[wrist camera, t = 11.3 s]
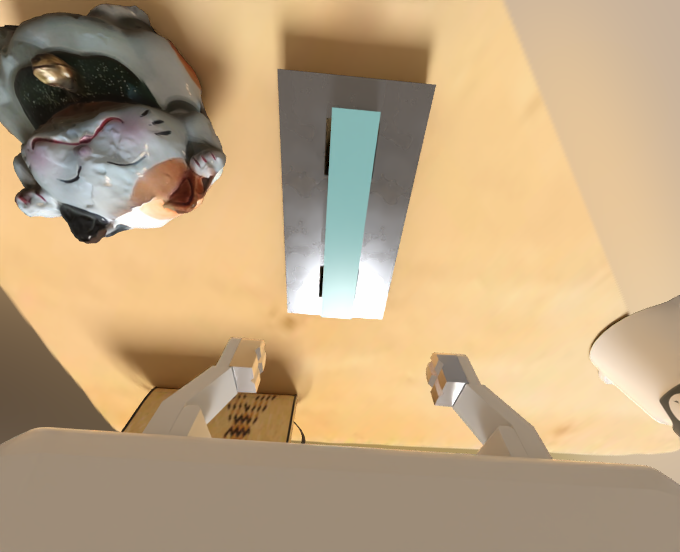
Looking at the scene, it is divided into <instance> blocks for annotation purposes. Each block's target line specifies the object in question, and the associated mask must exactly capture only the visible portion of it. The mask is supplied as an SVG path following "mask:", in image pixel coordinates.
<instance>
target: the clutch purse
mask: <svg viewBox="0 0 680 552" xmlns="http://www.w3.org/2000/svg"><path fill="white" fill-rule="evenodd" d="M178 390H179V389H164V388H157V387H155V388H153V389H152V390H151V391H150V392H149V393H148V394H147V396H146V397H145V398H144V400H143V401H142V402H141V404H140V405H139V407H138V408H137V409H136V411H135V412H134V414H133V415H132V417H131V418H130V420H129V421H128V422H127V424H126V425H125V427H124V428H123V430H122V431H121V432H128V433H143V431H144V429H145V428H146V426H147V425H148V423H149V422H150V420H151V418H152V417H153V415H154V414H155V412H156V411H157V409H158V407H159V406H160V404H161V403H162V402H163V401H164V400H165V399H167V398H168V397H170V396H171V395H172V394H174V393H175V392H176V391H178ZM296 404H297V395H295V396H292V395H273V394H255V393H237V394H236V395H235V396H234V397H233V398H232V400H231V401H230V402H229V403H228V404H227V405H226V406H225V407H224V408H223V409H222V410H221V411H220V412H219V413H218V414H217V415H216V416H215V417H214V418H213V419H212V420H211V421H210V422H209V423H208V424H207V427H208V430H209V432H210V435H211V437H212V438H222V439H238V440H254V441H270V442H286V443H291V436H292V430H293V424H294V423H295V422H294V418H295V411H296ZM295 424H296V423H295ZM296 426H297V424H296ZM297 427H298V426H297ZM298 428H299V427H298ZM299 430H300V432H301V434H302V442H301V443H302V444H305V437H304V434H303V432H302V430H301V429H300V428H299Z"/></svg>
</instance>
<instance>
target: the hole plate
mask: <svg viewBox="0 0 680 552" xmlns="http://www.w3.org/2000/svg"><path fill="white" fill-rule="evenodd" d="M435 87H436V85H432V84H422V83H412V82H402V81H392V80H382V79H372V78H363V77H353V76H343V75H333V74H323V73H313V72H303V71H293V70H283V69H278V91H279V115H280V139H281V163H282V188H283V212H284V236H285V260H286V284H287V309H288V313H302V314H316V315H321V308H322V289H323V283H321V266H324V251H325V233H326V214H327V195H328V176H329V169H326V158H327V137H328V118H332V107H333V108H344V109H354V110H364V111H375V112H381V114H380V121H379V128H378V135H377V142H376V149H375V157H374V164H373V171H372V178H371V185H370V192H369V199H368V206H367V213H366V220H365V227H364V234H363V242H362V249H361V256H360V263H359V270H358V277H357V284H356V291H355V298H354V305H353V312H352V317H358V318H372V319H382V318H383V314H384V309H385V305H386V300H387V296H388V292H389V287H390V283H391V279H392V274H393V270H394V266H395V261H396V257H397V252H398V248H399V244H400V239H401V235H402V231H403V226H404V222H405V218H406V213H407V209H408V204H409V200H410V196H411V191H412V187H413V183H414V178H415V174H416V170H417V165H418V161H419V156H420V152H421V148H422V143H423V139H424V135H425V130H426V126H427V122H428V117H429V113H430V109H431V104H432V100H433V95H434V91H435Z"/></svg>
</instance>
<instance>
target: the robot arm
mask: <svg viewBox="0 0 680 552" xmlns="http://www.w3.org/2000/svg"><path fill="white" fill-rule="evenodd" d="M264 347H265V342H264V340H257V339H247V338H236V337H232V338H231V339H230V340H229V341H228V343H227V345H226V347H225V349H224V351H223V353H222V355H221V357H220V359H219V361H218V363H217V365H216V366H211V367H210V368H209V369H207V370H206V371H204V372H203V373H202V374H200V375H199V376H197V377H196V378H195V379H193V380H192V381H190V382H189V383H188V384H186V385H185V386H183V387H182V388H181V389H179V390H178V391H176V392H175V393H174V394H172V395H171V396H170V397H168V398H167V399H165V400H164V401H163V402H162V403H161V404H160V406H159V407H158V409H157V411H156V412H155V414H154V415H153V417H152V418H151V420H150V422H149V423H148V425H147V426H146V428H145V429H144V431H143V433H128V432H112V431H97V430H80V429H66V428H52V427H40V428H35V429H32V430H29V431H27V432H25V433H23V434H20V435H18V436H16V437H14V438H12V439H10V440H9V441H7V442H5V443H3V444H1V445H0V552H680V485H679V484H677V483H676V482H675V481H673V480H672V479H670V478H669V477H667V476H666V475H664V474H663V473H661V472H659V471H658V470H656V469H654V468H651V467H648V466H644V465H635V464H619V463H603V462H602V463H601V462H586V461H570V460H555V459H552V457H551V455H550V454H549V452H548V450H547V449H546V447H545V445H544V443H543V442H542V440H541V438H540V437H539V435H538V433H537V432H536V430H535V428H534V427H533V426H532V425H531V424H530V423H528V422H527V421H526V420H525V419H524V418H523V417H521V416H520V415H519V414H518V413H517V412H515V411H514V410H513V409H512V408H511V407H510V406H508V405H507V404H506V403H505V402H504V401H503V400H501V399H500V398H499V397H498V396H497V395H495V394H494V393H493V392H492V391H491V390H490V389H488V388H487V387H486V386H485V385H481V383H480V381H479V379H478V377H477V375H476V373H475V371H474V369H473V367H472V365H471V363H470V361H469V359H468V357H467V356H466V355H462V354H450V353H433V354H432V356H431V360H432V361H431V362H430V363H428V365H427V368H426V378H427V382H428V384H429V385H430V386H431V387H432V390H431V395H432V398H433V402H434V405H438V406H448V407H453V409H454V410H455V412H456V413H457V414H458V415H459V416H460V418H461V419H462V420H463V421H464V422H465V424H466V425H467V426H468V427H469V428H470V430H471V431H472V432H473V433H474V434H475V436H476V437H477V438H478V439H479V440H480V442H481V443H482V444H483V446H482V447H481V449H480V450H479V451H478V452H477V454H476V455H474V454H460V453H443V452H427V451H412V450H396V449H381V448H365V447H349V446H333V445H316V444H302V443H286V442H270V441H254V440H238V439H222V438H212V437H211V435H210V432H209V430H208V427H207V424H208V423H209V422H210V421H211V420H212V419H213V418H214V417H215V416H216V415H217V414H218V413H219V412H220V411H221V410H222V409H223V408H224V407H225V406H226V405H227V404H228V403H229V402H230V401H231V400H232V398H233V397H234V396H235V395H236V394H237V392H245V393H256V392H257V389H258V386H259V383H260V374H261V373H262V372H263V370H264V367H265V362H266V351H265V350H264ZM590 360H591V362H592V364H593V365H594V366H596V367H597V368H598V370H599V378H600V379H601V380H602V381H604V382H605V383H606V384H614V385H615V386H616V387H618V388H619V389H620V390H621V391H622V392H623V393H624V394H626V395H627V396H628V397H629V398H630V399H631V400H632V401H633V402H635V403H636V404H637V405H638V406H639V407H640V408H642V409H643V410H644V411H645V412H646V413H647V414H648V415H650V416H651V417H652V418H653V419H654V420H656V421H657V422H659V423H663V424H666V425H671V426H673V430H674V432H675V433H676V434H677V435H678V436H679V437H680V295H679V296H677V297H675V298H673V299H671V300H669V301H667V302H665V303H662V304H659V305H656V306H653V307H649V308H646V309H644V310H641V311H638V312H636V313H634V314H632V315H630V316H628V317H626V318H624V319H622V320H620V321H619V322H617V323H616V324H614V325H613V326H611V327H610V328H609V329H607V330H606V331H605V332H604V333H603V334H602V335H601V336H600V337H599V338H598V339H597V340H596V341H595V343H594V344H593V346H592V348H591V351H590Z"/></svg>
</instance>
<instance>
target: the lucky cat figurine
mask: <svg viewBox="0 0 680 552" xmlns="http://www.w3.org/2000/svg"><path fill="white" fill-rule="evenodd" d="M201 92H202V90H201V86H200V83H199V81H198V78H197V76H196V74H195V72H194V70H193V69H192V67H190V65H189V64H188V63H187V62H186V61H185V60H184V58H183V57H182V56H181V55H180V53H179V52H178V51H177V49H176V48H175V46H174V45H173V44H172V43H171V41H169V40H168V39H165V38H163V37H162V36H159V35H157V34H156V32H155V31H154V29H153V28H152V27H151V26H150V21H149V18H148V15H147V14H146V13H145V12H144V11H142V10H141V9H139V8H138V7H137V6H132V7H128V6H120V5H110V4H101V5H98V6H96V7H95V8H94V9H92V10H91V11H90V13H89V14H88V15H87V16H82V15H79V14H71V13H50V14H45V15H42V16H39V17H35V18H32V19H30V20H27V21H24V22H23V23H21V24H20V25H19V26H14V25H5V26H4V27H0V122H1V123H2V124H3V126H4V127H5V128H6V129H7V130H8V131H9V132H10V133H11V134H12V135H14V136H15V137H16V138H17V139H18V140H20V142H21V143H22V145H21V153H20V154H18V155H17V156H16V157H15V158H14V161H13V165H14V169H15V172H16V174H17V176H18V178H19V179H20V181H21V182H22V184H23V186H24V187H25V188H24V189H22V190H21V191H20V192H19V193H17V195H16V196H15V202H16V203H17V205H18V207H19V208H20V209H21V211H22V212H24V213H25V214H26V215H27V216H29V217H33V216H43V217H49V218H53V217H61V216H62V217H63V218H64V219H65V220H66V222H67V223H68V225H69V227H70V229H71V232H72V233H73V234H74V236H75V237H76V238H77V239H78V240H79V241H81V242H85V243H87V244H89V243H97V242H99V241H100V240H101V238H103V237H110V236H113V235H115V234H116V233H118V232H121V231H124V230H129V229H133V228H156V227H162V226H164V225H165V224H166V223H168V222H169V221H170V220H172V219H173V218H176V217H178V216H181V215H183V214H184V213H188V212H190V211H192V210H193V209H196V208H197V207H198V206H200V205H201V204H202V202H203V199H204V196H205V194H206V192H207V191H208V190H209V188H210V187H211V185H212V184H213V183H214V182H215V181H216V180H217V179H218V178H219V177H220V176H221V174H222V171H223V167H224V165H225V163H226V156H225V154H224V153H223V151H222V146H221V143H220V141H219V138H218V136H216V134H215V131H214V129H213V127H212V125H211V122H210V120H209V118H208V116H207V114H206V111H205V109H204V106H203V103H202V99H201Z"/></svg>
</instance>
